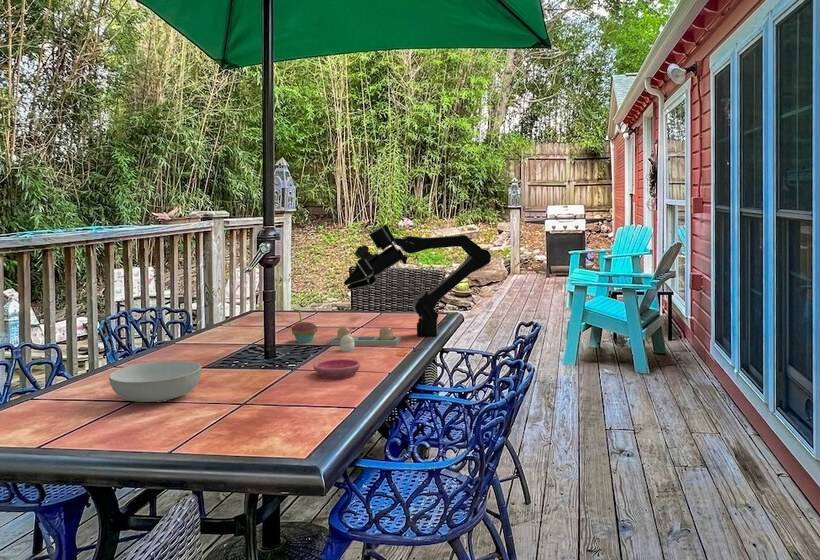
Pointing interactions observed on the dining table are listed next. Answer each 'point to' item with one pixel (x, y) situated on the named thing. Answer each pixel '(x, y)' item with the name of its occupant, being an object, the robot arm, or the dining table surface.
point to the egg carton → (369, 341)
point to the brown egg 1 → (343, 332)
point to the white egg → (347, 344)
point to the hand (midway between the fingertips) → (346, 286)
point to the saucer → (337, 368)
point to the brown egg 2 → (386, 333)
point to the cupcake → (304, 331)
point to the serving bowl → (155, 380)
